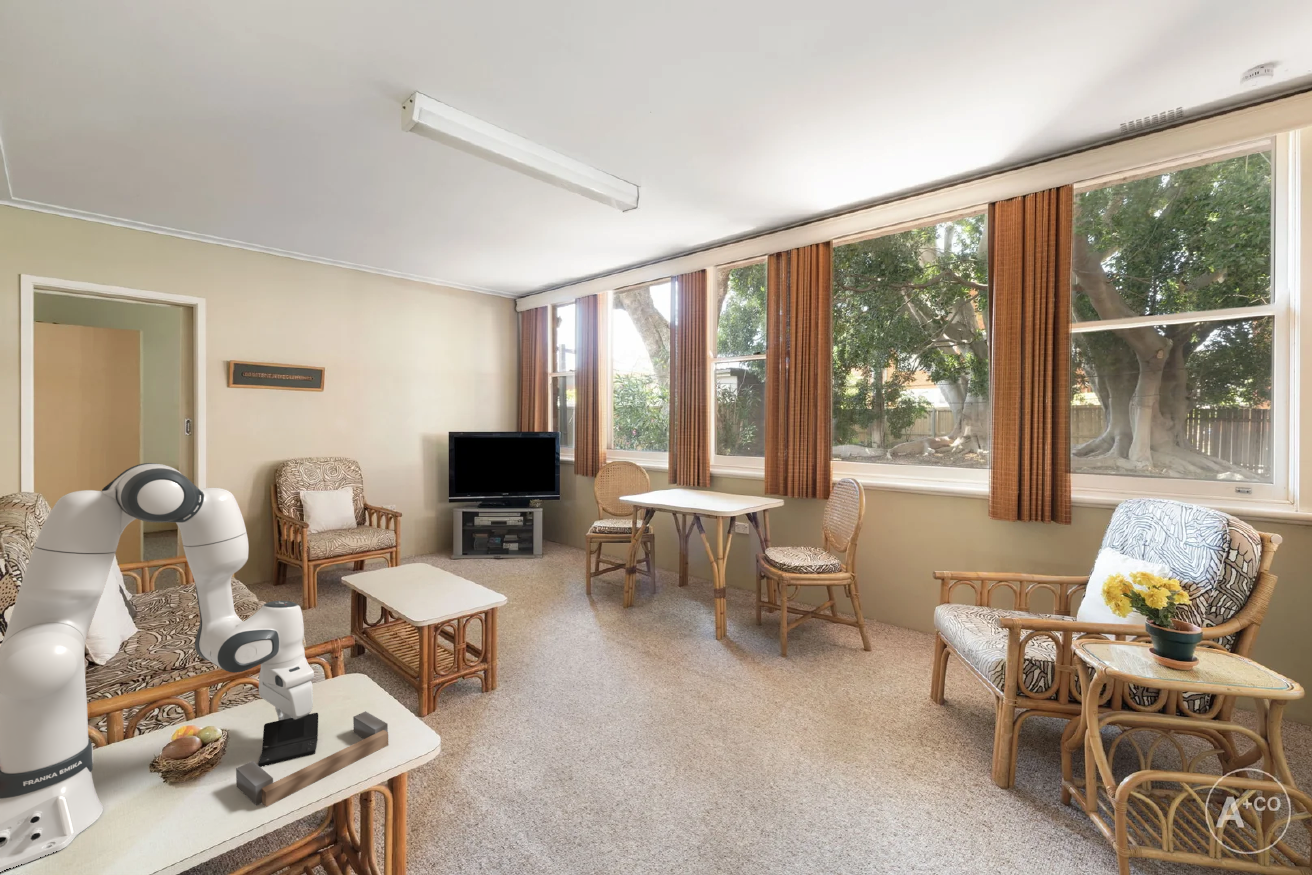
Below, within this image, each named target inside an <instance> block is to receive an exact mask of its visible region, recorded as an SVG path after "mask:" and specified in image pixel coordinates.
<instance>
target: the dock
mask: <svg viewBox="0 0 1312 875" xmlns="http://www.w3.org/2000/svg"><path fill="white" fill-rule="evenodd" d="M352 718H353V724H352V725H353V733H354V734H355V735H357V736H358V737H360V738H362V739H361V740H359V741H356V742H355V743H354V744H352V745H349V746H347V747H345V748H343V749H341V750H339V751H337V752H335V753H332V754H330V755H329V756H327V757H324V758H322V759H319V760H318V761H316V762H314V763H311V764H309V765H307V766H305V767H303V768H301V769H299V770H297V771H295V772H293V773H291V774H288V775H287V776H284V777H282V778H280V779H278V780H276V781H274V777H273V776H271V775H270V774H269V773H268V772H266V771H265V770H264V769H263V768H262V767H260V766H258V763H256V762H255V761H254V760H251V761H249V762H247V763H244V764H242V765H240V766H238V767H235V777H236V778H235V780H236V782H235V783H236V789H238V790H239V791H240V792H241V793H242V794H243V795H244V796H245V797H246V798H247V799H248V800H250V802H252V803H253V805H254V806H257V807H258V806H259V805H261V804H262V805H264V806H265V807H269V806H271V805H273V804H275V803H277V802H279V801H281V800H282V799H285V798H287V797H289V796H291V795H293V794H295V793H297V792H298V791H300V790H303V789H305V788H307V787H308V786H310V785H312V784H314V783H316V782H318V781H320V780H322V779H324V778H326V777H328V776H331V775H332V774H334V773H336V772H338V771H340V770H342V769H344V768H346V767H348V766H350V765H352V764H354V763H356V762H358V761H360V760H362V759H364V758H366V757H367V756H369V755H371V754H373V753H375V752H377V751H379V750H382V749H383V748H385V747H388V746H389V730H388V729H389V728H388V726H389V725H388V723H387V722H385V721H384V720H382V719H380V718H378V717H376V716H375V715H373V714H371V713H369V712H368V711H363V712H361V713H359V714H356V715H354V716H353V717H352Z"/></svg>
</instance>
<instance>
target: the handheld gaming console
mask: <svg viewBox="0 0 1312 875" xmlns="http://www.w3.org/2000/svg"><path fill="white" fill-rule="evenodd" d="M318 736H319V713H318V712H312V713H310V714H308V715H306V716H304V717H301V718H299V719H293V718H289V719H284V720H279V721H278V720H275V721H272V722H267V723H264V724H263V735H262V746H261V753H260V756H259V758H258V762H257V765H258V766H260V767H261V768H262V766H263V767H265V765H267V766H271V765H274V764H278V763H279V764H280V763H284V762H286V761H291V760H295V759H299V758H304V757H308V756H312V755H315V754H316V751H317V745H318V740H319V739H318Z"/></svg>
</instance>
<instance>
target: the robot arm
mask: <svg viewBox="0 0 1312 875" xmlns="http://www.w3.org/2000/svg"><path fill="white" fill-rule="evenodd" d="M135 520H140V521H143V522H146V523H147V522H149V523H175V524H176V525H177V528H178V530H179V532H180V537H181V543H182V546H183V551H184V554H185V558H186V562H187V564H188V567H189V570H190V571H191V574H192V578H193V580H194V585H195V591H196V598H197V605H198V611H199V624H198V628H197V633H196V636H195V640H194V641H195V642H194V648H195V651H196V654H197V655H198V656H199V657H200V658H201V659H202V660H205V661H208V662H211V663H212V664H213V665H215V666H217V667H219V668H220V669H222V670H224V671H226V672H228V673H242V672H245V671H248V670H251V669H254V668H255V667H257V666H259V665H260V671H259V674H258V694H259V695H258V696H259V697H260V698H261V699H262V700H265V701H266V702H267V703H269V704H270V705H271V706H273V707H275V712H276V715H277V718H278V720H277V721H279V720H284V719H289V718H293V719H299V718H301V717H304V716H306V715H308V714H311V711H313V705H314V702H313V700H314V696H313V694H314V693H313V692H314V690H313V689H314V687H313V683H312V680H313V679H314V678H315V671H314V670H313V668H312V667H311V666H310V664H309V663H308V660H307V658H306V655H305V652H306V651H305V647H304V645H303V640H304V636H305V626H304V625H305V624H304V615H303V611H302V608H301V605H299V604H298V603H296V602H294V601H290V600H273V601H269V602H266V603H263V604H262V606H260V608H259V609H258V610H257V611H256V612H255V613H253V615H251V616H250V617H248V618H247V619H245V620H242V619H241V618H240V617H239V616H238V615H237V612H236V610H235V605H234V597H233V589H232V578H233V575H234V574H235V573H237V572H239V570H241V569H242V568H243V567H244V566H245V565H246V563H247V561H248V560H249V549H250V548H249V538H248V537H249V536H248V534H247V533H248V532H247V529H246V524H245V520H244V517H243V515H242V511H241V509H240V506H239V504H238V501H237V499H236V497H235V495H234V494H233V493H232V492H231V491H230V490H228V489H225V488H222V487H205V488H199V487H197V486H196V485H195V483H194V482H192V481H191V480H190V479H189V478H188V477H186V476H185V475H184V474H183V473H181V472H180V471H179V470H178V469H176V468H174V467H172V466H170V465H165V464H162V463H155V462H146V463H140V464H136V465H133V466H131V467H129V468H127V469H126V470H124V471H123V472H122V473H120V474H119V475H117V477H116V478H114V479H113V480H112V481H110V482H109V483H108V484H107V485H105V486H104V487H103V488H102V490H94V489H86V490H76V491H72V492H69V493H67V494H64V495H62V496H61V497H60V498H59V499H58V500H57V501H56V502H55V504H54V505H53V507H52V509H51V510H50V512H49V513H48V516H47V517H46V519H45V521H44V523H43V524H42V526H41V529H40V531H39V533H38V536H37V537H36V538H37V539H36V541H35V543H34V546H33V548H32V549H33V550H32V552H31V554H30V558H29V561H28V563H27V567H26V569H25V572H24V575H23V578H22V581H21V584H20V587H19V590H18V594H17V596H16V600H15V604H14V606H13V609H12V611H11V616H10V619H9V621H8V624H7V627H6V631H5V634H4V635H3V639H2V641H1V644H0V871H3V870H6V869H9V868H11V869H14V868H16V866H17V867H18V865H19V866H22V865H25V864H27V863H29V862H33V861H35V860H39V859H40V857H41V858H43V857H46V856H48V854H49V855H51V854H54V853H57V852H60V851H61V850H63V849H65V848H66V847H68V846H69V845H70V844H71V842H72V841H73V840H74V839H75V838H76V837H77V836H78V835H79V834H81V833H82V832H83V831H85V830H86V829H88V827H90V826H91V825H92V824H93V823H95V822H96V821H98V818H100V816H101V815H102V813H103V811H104V805H103V803H102V802H101V800H100V799H99V796H98V794H97V790H96V788H95V787H96V786H95V784H94V780H93V774H92V771H93V770H94V769H93V765H94V748H93V747H94V746H93V744H92V741H91V740H90V738H89V723H88V721H89V718H88V716H89V714H88V698H87V684H86V683H87V682H86V667H85V666H86V664H85V661H86V660H85V650H86V649H85V648H86V641H87V638H88V634H89V630H90V627H91V624H92V622H93V618H94V616H95V613H96V610H97V608H98V606H99V602H100V600H101V598H102V595H103V593H104V589H105V588H106V584H107V580H108V578H109V575H110V571H111V568H112V565H113V561H114V559H115V556H116V553H117V549H118V547H119V546H118V545H119V543H120V539H121V535H122V534H123V532H124V530H125V529H126V527H127V526H128V525H130V523H132V522H134V521H135ZM56 851H57V852H56ZM53 852H54V853H53ZM45 855H46V856H45ZM21 864H22V865H21ZM13 867H14V868H13ZM9 870H10V869H9ZM6 871H7V870H6ZM3 872H4V871H3Z"/></svg>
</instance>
